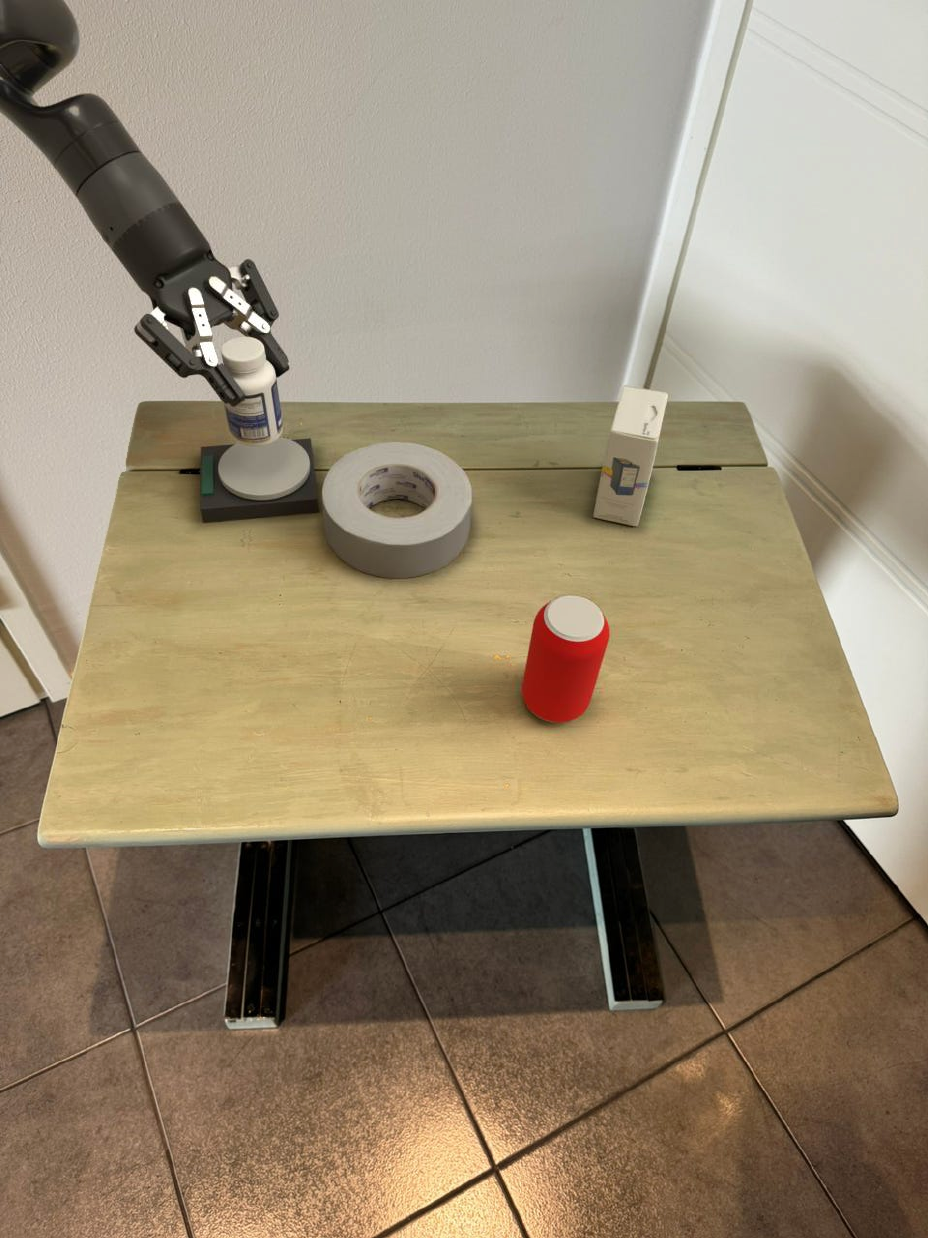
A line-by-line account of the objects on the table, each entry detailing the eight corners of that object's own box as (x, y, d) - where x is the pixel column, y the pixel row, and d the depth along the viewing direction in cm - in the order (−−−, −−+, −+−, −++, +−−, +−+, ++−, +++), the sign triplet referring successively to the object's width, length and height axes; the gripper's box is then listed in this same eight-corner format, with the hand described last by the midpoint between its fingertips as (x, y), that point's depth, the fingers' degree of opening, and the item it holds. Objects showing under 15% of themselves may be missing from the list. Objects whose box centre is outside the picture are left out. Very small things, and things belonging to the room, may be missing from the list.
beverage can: (530, 664, 78) (546, 578, 68) (595, 683, 77) (620, 598, 67) (512, 717, 74) (526, 633, 65) (580, 737, 73) (605, 656, 64)
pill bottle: (256, 408, 88) (242, 324, 80) (294, 429, 86) (284, 346, 78) (218, 433, 85) (200, 349, 77) (257, 455, 83) (242, 372, 76)
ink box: (636, 528, 90) (662, 441, 81) (589, 518, 90) (610, 430, 81) (647, 478, 95) (672, 391, 86) (603, 468, 96) (623, 381, 87)
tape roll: (497, 518, 90) (502, 482, 86) (409, 602, 82) (409, 568, 78) (387, 458, 95) (386, 422, 91) (293, 532, 87) (288, 496, 83)
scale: (203, 523, 87) (197, 501, 85) (204, 460, 93) (198, 439, 91) (319, 512, 89) (316, 491, 87) (312, 451, 95) (310, 430, 93)
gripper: (91, 234, 68) (224, 412, 73) (219, 175, 76) (330, 340, 81) (68, 274, 74) (192, 436, 79) (189, 215, 81) (294, 367, 87)
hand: (261, 387), depth 80 cm, fingers closed on pill bottle, 5 cm apart
